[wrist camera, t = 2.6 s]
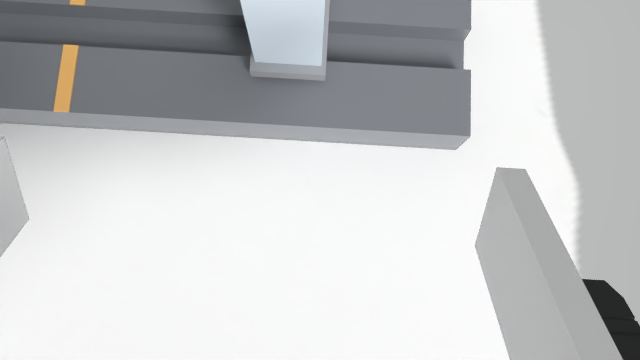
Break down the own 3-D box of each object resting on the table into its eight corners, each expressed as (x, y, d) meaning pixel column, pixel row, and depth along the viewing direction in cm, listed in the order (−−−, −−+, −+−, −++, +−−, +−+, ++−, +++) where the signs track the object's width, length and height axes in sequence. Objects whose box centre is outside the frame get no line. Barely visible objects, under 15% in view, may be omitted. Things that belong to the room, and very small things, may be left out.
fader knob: (254, 86, 31) (227, -9, 21) (260, 5, 32) (238, -124, 22) (324, 91, 31) (331, -3, 21) (328, 9, 32) (338, -118, 22)
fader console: (-19, 121, 33) (-52, 104, 29) (9, -33, 34) (-20, -64, 31) (455, 149, 33) (471, 135, 30) (457, -6, 35) (471, -34, 32)
